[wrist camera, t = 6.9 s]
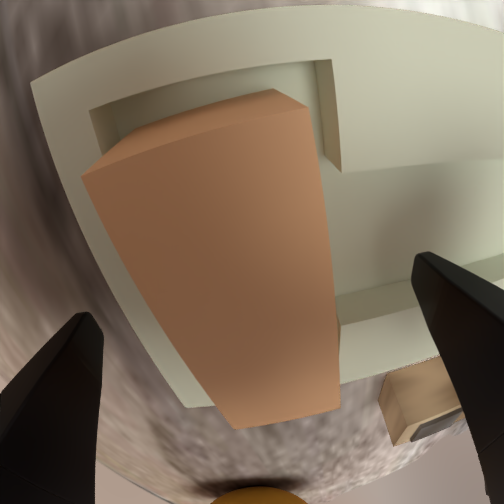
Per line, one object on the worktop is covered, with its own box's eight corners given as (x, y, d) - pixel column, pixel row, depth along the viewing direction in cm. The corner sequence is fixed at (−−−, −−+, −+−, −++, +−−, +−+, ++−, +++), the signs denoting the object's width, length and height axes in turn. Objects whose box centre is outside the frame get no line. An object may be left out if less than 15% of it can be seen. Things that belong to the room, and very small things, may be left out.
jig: (554, 61, 6) (592, 73, 4) (513, 285, 14) (535, 311, 12) (73, 73, 7) (29, 82, 5) (187, 364, 14) (185, 407, 12)
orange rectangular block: (273, 88, 7) (308, 107, 4) (318, 332, 12) (340, 408, 9) (135, 128, 7) (80, 176, 4) (230, 351, 12) (234, 429, 9)
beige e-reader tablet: (502, 327, 17) (530, 370, 13) (485, 357, 19) (508, 398, 15) (385, 370, 17) (408, 430, 13) (377, 398, 19) (394, 450, 15)
